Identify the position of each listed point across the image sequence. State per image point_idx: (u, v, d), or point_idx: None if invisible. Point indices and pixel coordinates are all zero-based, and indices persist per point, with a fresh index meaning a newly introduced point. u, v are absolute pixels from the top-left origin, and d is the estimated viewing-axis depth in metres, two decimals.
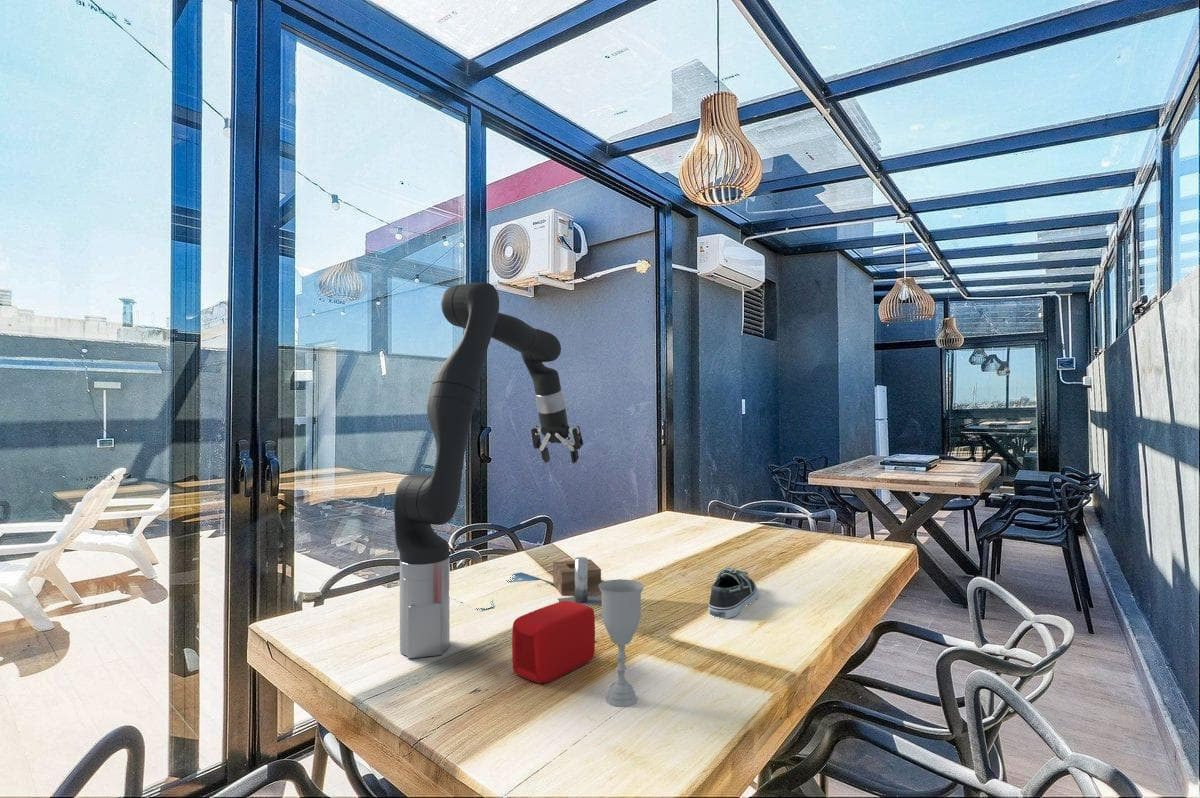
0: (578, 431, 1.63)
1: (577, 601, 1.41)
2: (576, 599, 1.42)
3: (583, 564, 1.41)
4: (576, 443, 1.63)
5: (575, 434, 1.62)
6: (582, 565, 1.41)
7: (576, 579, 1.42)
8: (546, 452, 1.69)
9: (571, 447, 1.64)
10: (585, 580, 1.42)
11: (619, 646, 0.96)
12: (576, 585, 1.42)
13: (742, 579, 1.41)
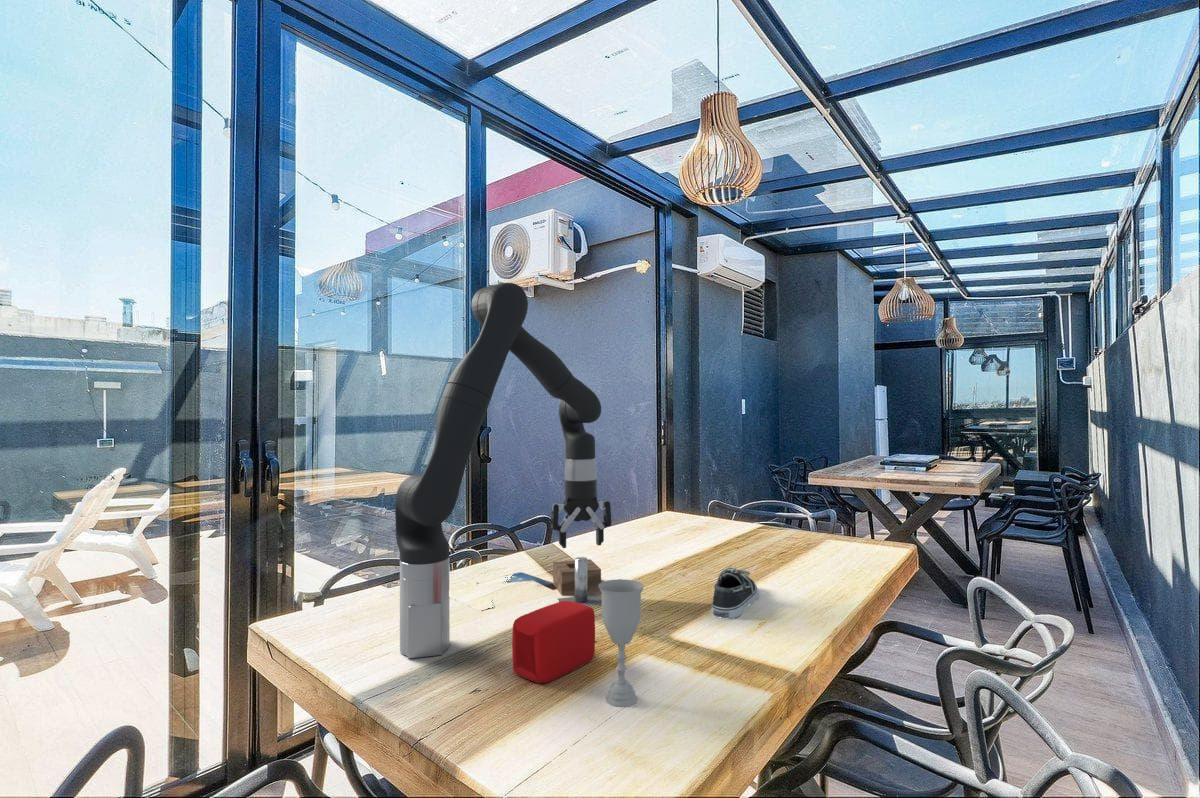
0: None
1: (577, 601, 1.41)
2: (576, 599, 1.42)
3: (582, 564, 1.41)
4: (608, 519, 1.43)
5: (608, 508, 1.43)
6: (582, 565, 1.41)
7: (576, 579, 1.42)
8: None
9: (601, 524, 1.43)
10: (585, 580, 1.42)
11: (619, 646, 0.96)
12: (576, 585, 1.42)
13: (744, 579, 1.42)
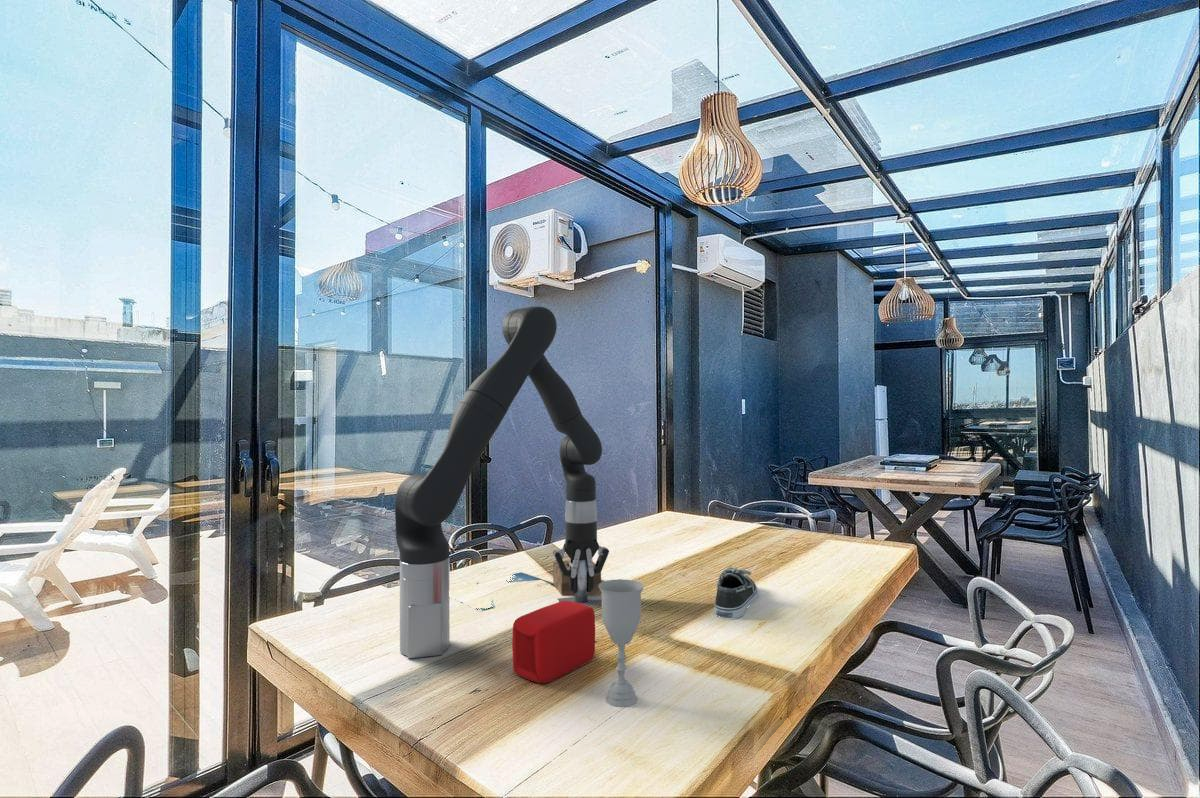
0: None
1: (577, 601, 1.41)
2: (576, 599, 1.42)
3: (583, 564, 1.41)
4: (600, 565, 1.43)
5: (605, 555, 1.43)
6: (582, 565, 1.41)
7: (576, 579, 1.42)
8: None
9: (592, 571, 1.42)
10: (585, 580, 1.42)
11: (619, 646, 0.96)
12: (576, 585, 1.42)
13: (745, 579, 1.42)
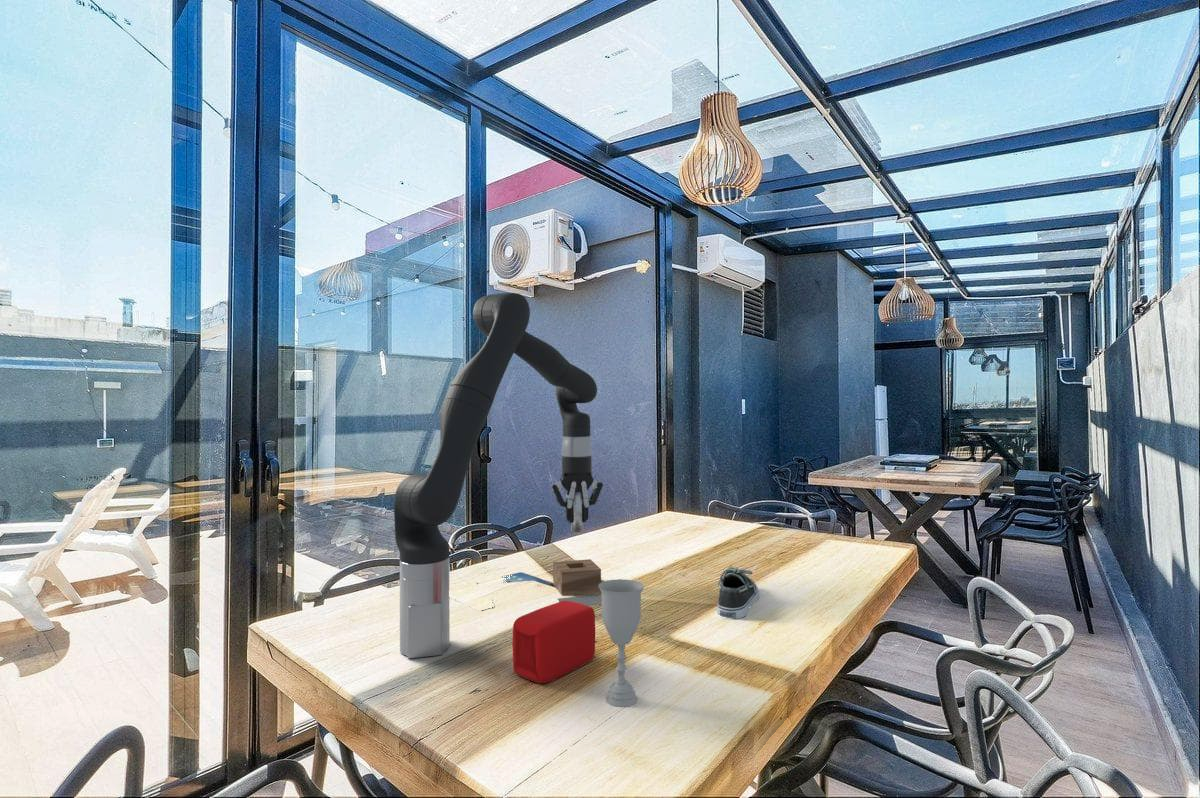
0: None
1: (573, 530, 1.52)
2: (572, 528, 1.52)
3: (578, 496, 1.52)
4: (594, 497, 1.53)
5: (599, 488, 1.54)
6: (578, 497, 1.52)
7: (572, 510, 1.52)
8: None
9: (587, 503, 1.53)
10: (581, 511, 1.52)
11: (619, 646, 0.96)
12: (572, 515, 1.52)
13: (746, 578, 1.42)
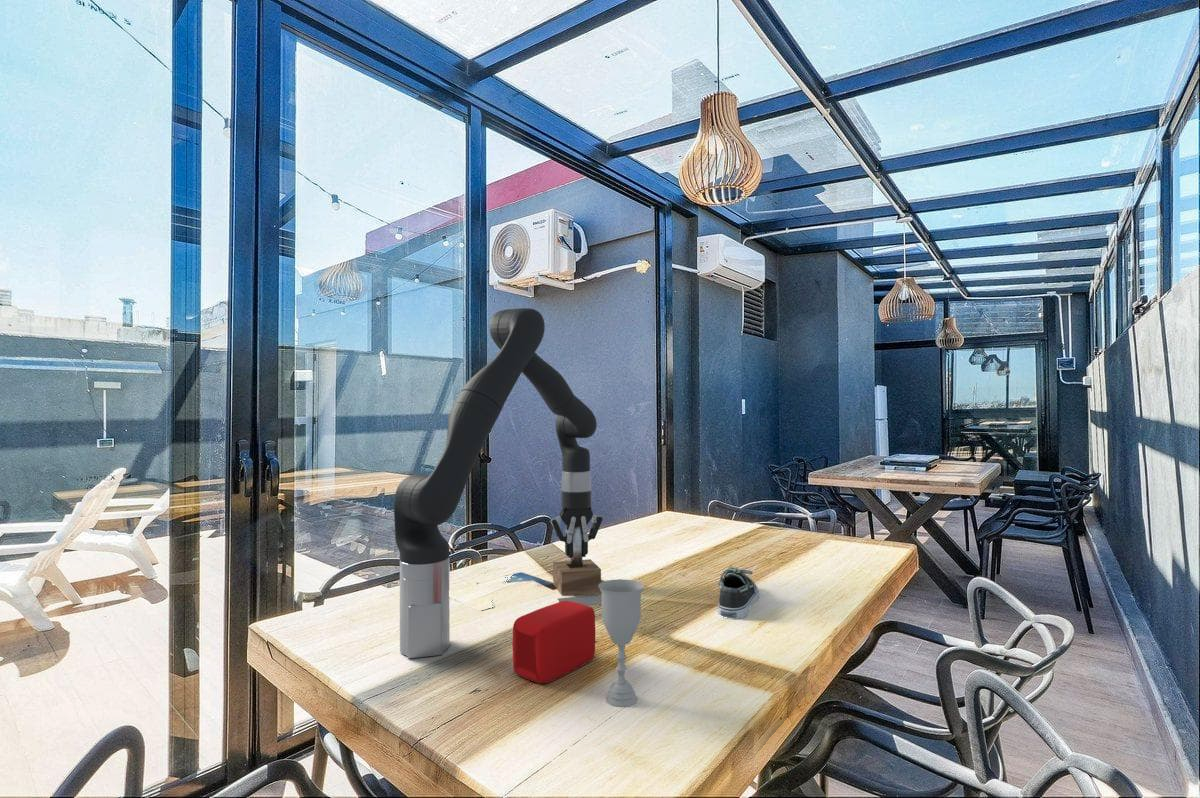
0: None
1: (573, 565, 1.52)
2: (572, 563, 1.52)
3: (578, 530, 1.52)
4: (594, 532, 1.53)
5: (599, 523, 1.54)
6: (577, 532, 1.52)
7: (572, 544, 1.52)
8: None
9: (586, 537, 1.53)
10: (580, 545, 1.52)
11: (619, 646, 0.96)
12: (572, 550, 1.52)
13: (747, 578, 1.42)
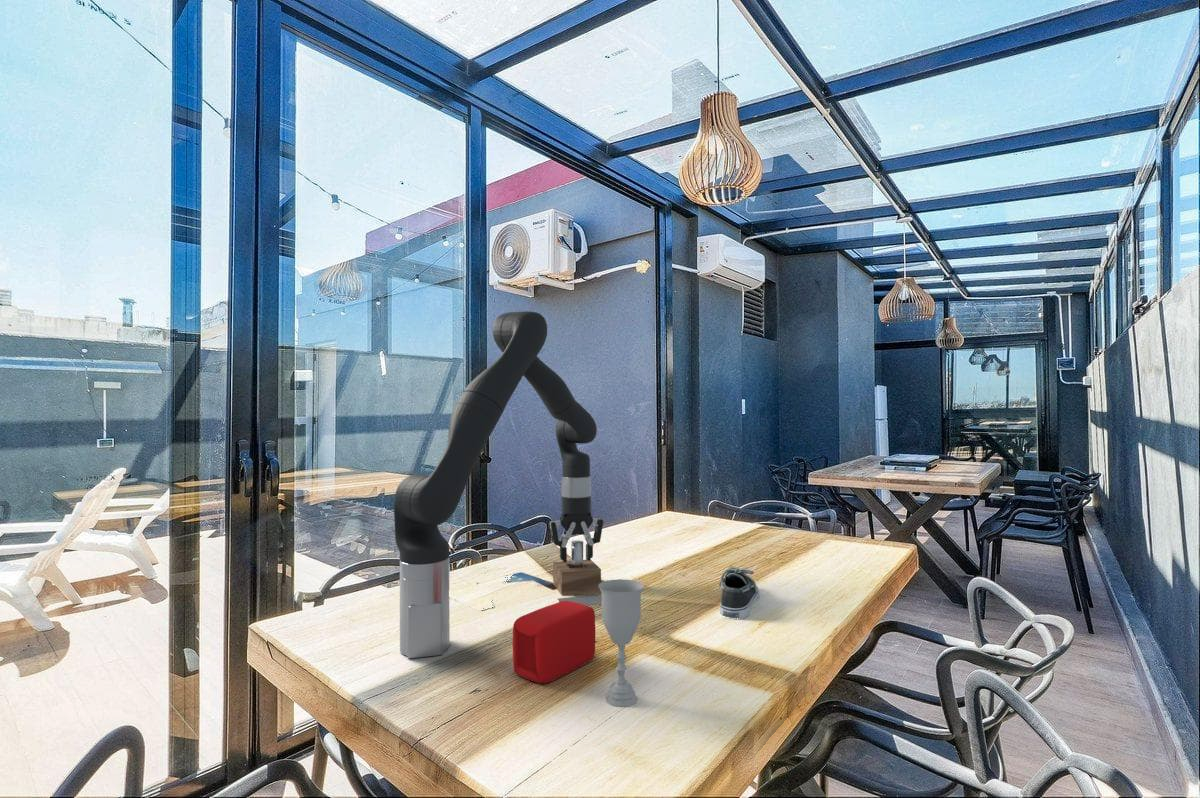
0: None
1: None
2: None
3: (579, 546, 1.52)
4: (598, 535, 1.54)
5: (601, 525, 1.54)
6: (578, 547, 1.52)
7: (572, 560, 1.52)
8: None
9: (591, 541, 1.53)
10: (581, 561, 1.52)
11: (619, 646, 0.96)
12: (572, 566, 1.52)
13: (748, 578, 1.42)
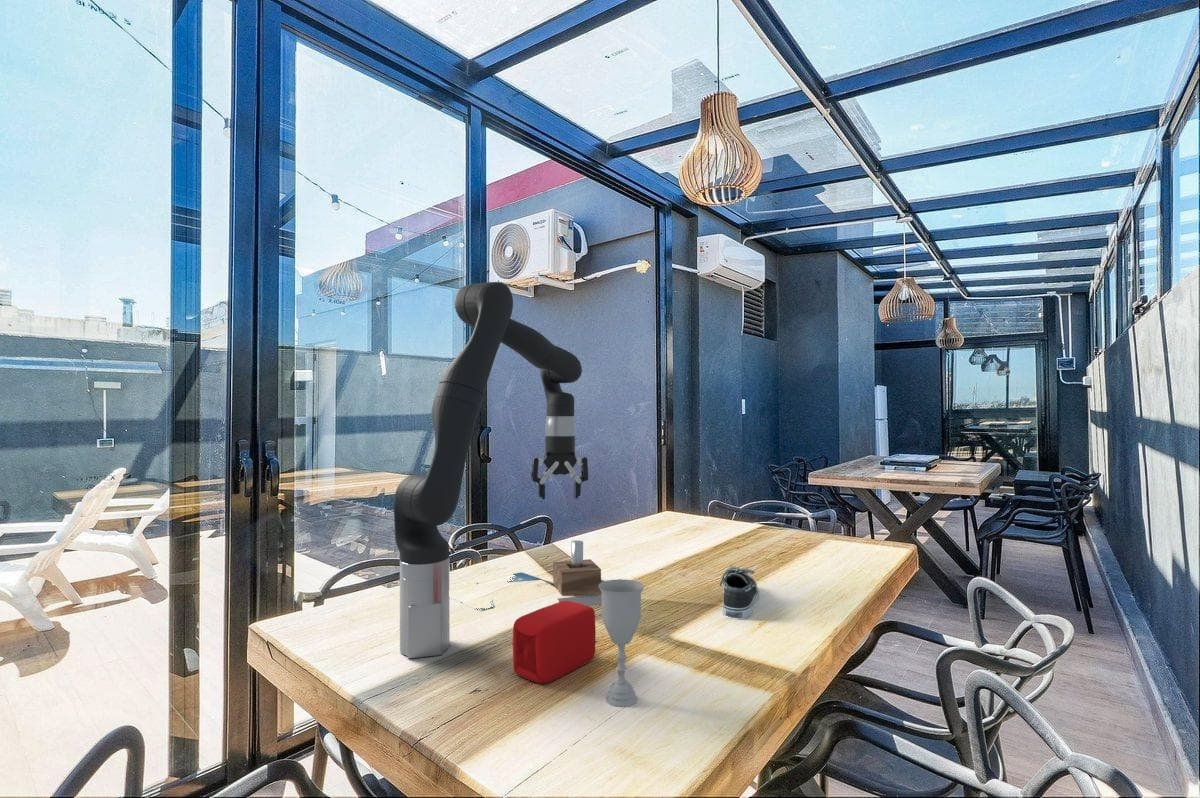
0: None
1: None
2: None
3: (579, 547, 1.52)
4: (585, 474, 1.53)
5: (585, 463, 1.53)
6: (578, 548, 1.52)
7: (572, 561, 1.52)
8: None
9: (578, 478, 1.52)
10: (581, 562, 1.52)
11: (619, 646, 0.96)
12: (572, 566, 1.52)
13: (748, 578, 1.42)
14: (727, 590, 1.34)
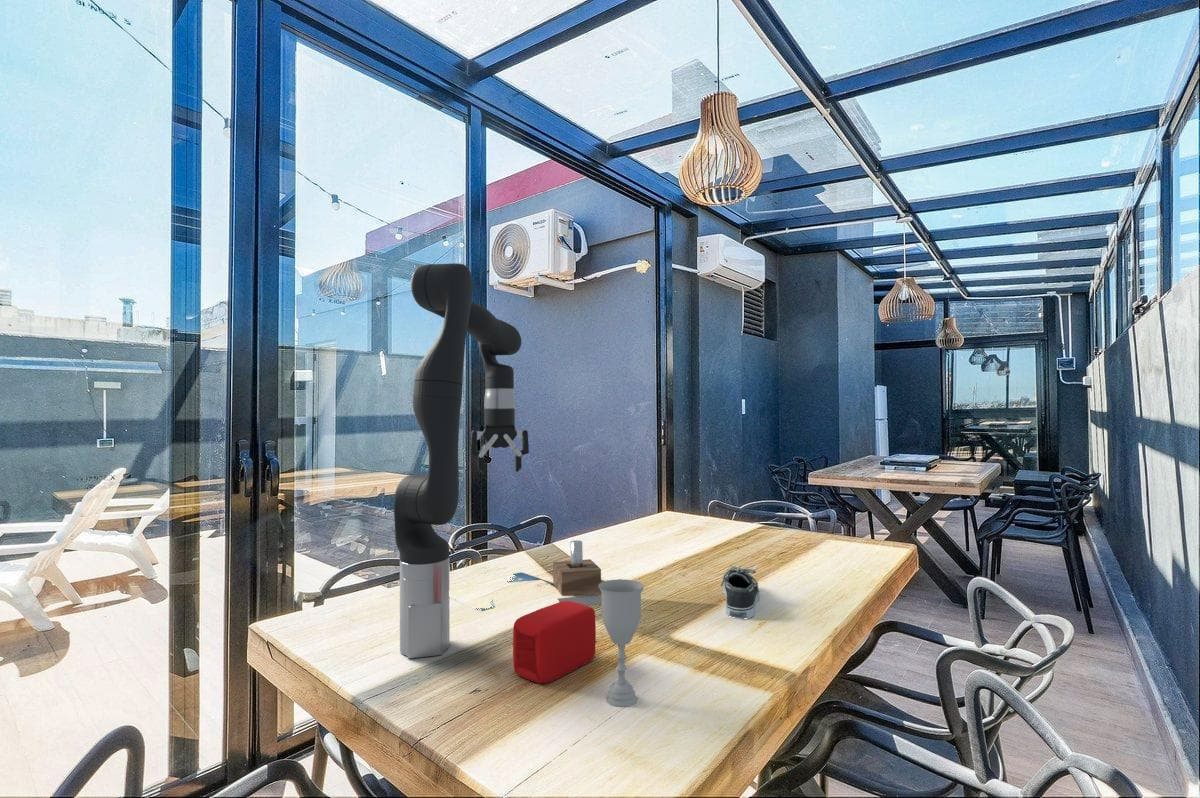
0: None
1: None
2: None
3: (578, 547, 1.52)
4: (525, 447, 1.51)
5: (526, 436, 1.51)
6: (577, 548, 1.52)
7: (572, 561, 1.52)
8: None
9: (518, 452, 1.51)
10: (580, 562, 1.52)
11: (619, 646, 0.96)
12: (572, 566, 1.52)
13: (750, 578, 1.42)
14: (731, 590, 1.33)
